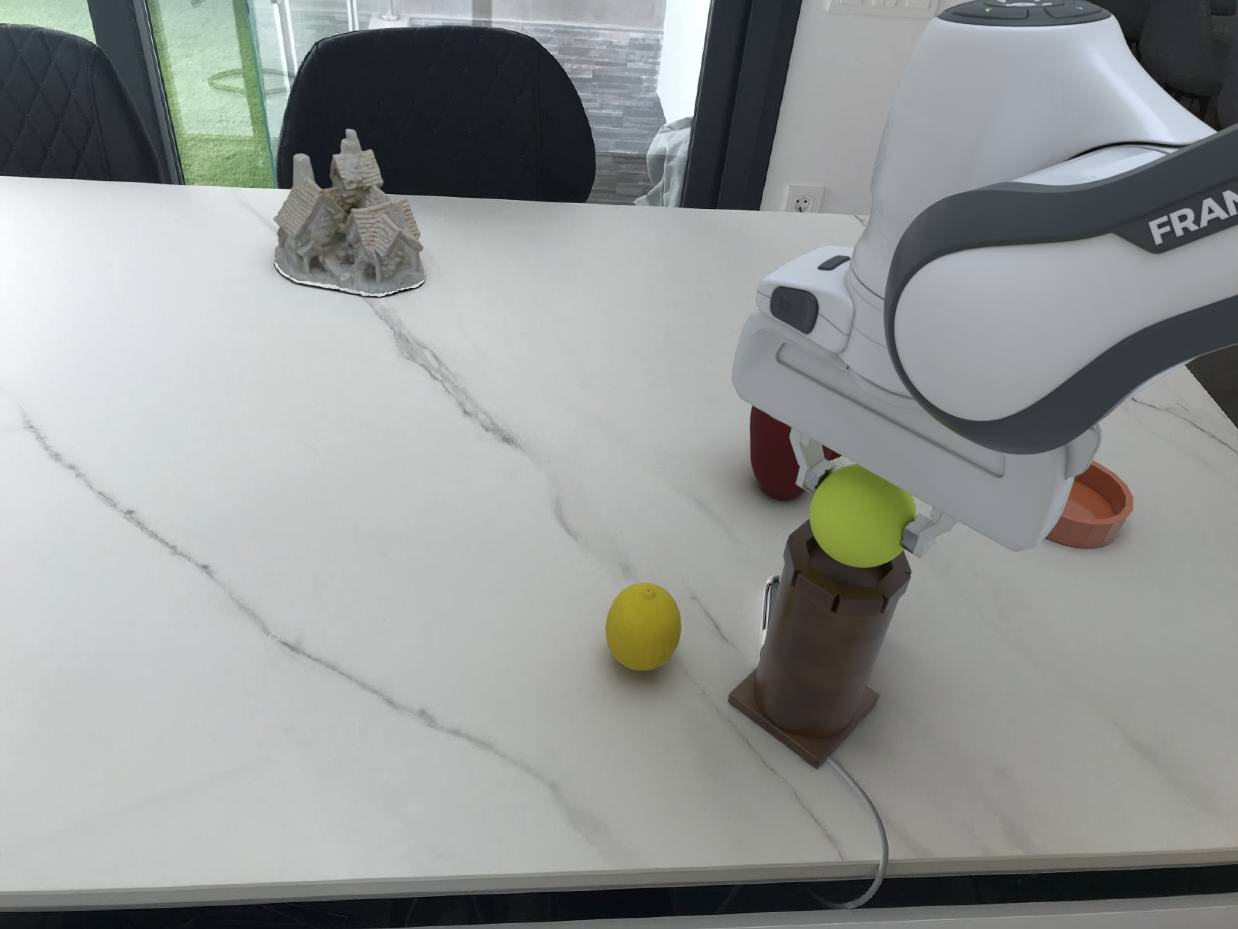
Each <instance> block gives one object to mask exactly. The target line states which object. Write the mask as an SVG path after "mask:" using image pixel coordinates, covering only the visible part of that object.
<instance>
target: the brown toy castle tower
mask: <svg viewBox="0 0 1238 929" xmlns="http://www.w3.org/2000/svg"><path fill="white" fill-rule="evenodd" d="M784 546H785V547H784V550H783V554H782V557H783V562H784V564H783V567H782V571H781V576H780V579H779V583H778V588H777V592H776V595H775V598H774V603H773V606H772V610H771V615H770V618H769V622H768V626H767V629H766V634H765V638H764V641H763V644H762V649H761V654H760V657H759V661H758V665H757V667H755V669H753V671H752V672H751V673H749V674H748V675H747V676H746V677H745V678H744V679H743V680H742V681H741V682H740V683H739V684H738V685H737V686H736V687H735V688H734V689H732V691H730V692H729V695H728V698H727V702H728V703H729V704H730V705H732V706H733V707H735V708H736V709H737V710H738V711H739V712H741V713H742V714H743V715H745V716H746V717H747V718H749V719H750V720H752V721H753V722H754V723H756V724H757V725H758V726H760V727H761V728H762V729H763V730H765V731H766V732H767V733H768V734H770V735H772V736H773V737H774V738H775V739H777V740H778V741H779V742H781V743H782V744H783V745H785V746H786V747H787V748H789V749H790V750H791V751H793V752H794V753H795V754H796V755H798V756H799V757H801V759H803V760H805V761H806V762H807V763H809V765H811V766H812V767H813V768H815V769H817V770H818V769H819V768H820V767H821V766H822V765H823V764H824V763H825V761H826V760H827V759H828V758H829V757H830V756H831V755H832V754H833V753H834V751H835V750H836V749H837V748H838V747H839V746H840V745H841V744H842V742H844V740H846V738H847V737H848V736H849V735H850V734H851V732H853V730H854V729H856V727H858V725H859V724H860V723H861V722H862V720H863V719H864V718H865V717H866V716H867V715H868V714H869V712H870V711H871V710H873V709H874V707H875V706H876V705H877V704H878V701H879V699H880V696H881V695H880V694H879V693H878V692H876V691H875V690H873V689H872V688H870V687H869V686H868V683H869V680H870V678H871V675H872V672H873V669H874V667H875V664H876V662H877V659H878V656H879V653H880V651H881V648H882V646H883V642H884V640H885V637H886V635H887V633H888V629H889V627H890V625H891V622H892V619H893V616H894V614H895V610H897V609H896V608H897V606H898V603H899V601H900V599H901V597H903V596H904V595H905V594H906V592H907V589H908V586H909V584H910V581H911V579H912V576H911V575H912V572H913V571H912V569H911V566H910V563H909V560H908V558H907V555H906V552H905V549H904V550H903V551H902V552H901V553H900V554H899V555H898V556H897V557H895V558H894V559H892V560H891V561H889V562H887V563H884V564H882V565H879V566H875V567H867V568H860V567H852V566H848V565H845V564H843V563H840V562H838V561H837V560H835V559H833V558H832V557H830V556H829V555H828V554H827V553H826V552H825V551H824V550H823V549H822V548H821V547H820V545H819V544H818V542H817V541H816V539H815V537H814V534H813V532H812V529H811V524H810V517H809V518H808V519H807V520H806V521H804V522H803V523H802V524H800V526H798V527H797V528H795V530H794V531H792V532H791V533H789V535H788V536H787V540H786V543H785V545H784ZM828 756H829V757H828ZM827 757H828V758H827Z"/></svg>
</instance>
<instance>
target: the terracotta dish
mask: <svg viewBox="0 0 1238 929" xmlns="http://www.w3.org/2000/svg"><path fill="white" fill-rule="evenodd" d="M1133 511H1134V496H1133V494H1132V492H1131V490H1130V488H1129V486H1128V485H1127V483H1126V482H1125V481H1124V480H1122V478H1121V477H1119V476H1118V475H1117V473H1115V472H1114V471H1112V470H1111V469H1109V468H1108V467H1106V466H1104V465H1102V464H1101V463H1099V462H1098V461H1095V460H1093V461H1092V463H1091V465H1090V466H1089V467H1088V469H1087V470H1086V471H1085V472H1083V473H1082V474H1080V475H1078V476H1075V478H1074V482H1073V485H1072V488H1071V491H1070V494H1069V497H1068V500H1067V502H1066V505H1065V507H1064V510H1063V512H1062V514H1061V516H1060V518H1059V520H1058V522H1057V523H1056V525H1055V526H1054V528H1053V529H1052V530H1051V531H1050V533H1049V534H1048V535H1047V536H1046V537H1045V539H1048V540H1050V541H1052V542H1055V543H1058V544H1060V545H1063V546H1068V547H1072V548H1079V549H1081V548H1082V549H1095V548H1101V547H1104V546H1107V545H1110V544H1111V543H1113V542H1114V541H1115V540H1116V539H1117V538H1118V537H1119V535H1120V534H1121V532H1122V530H1123V529H1124V527H1125V526H1126V523H1127V522H1128V521H1129V518H1130V517H1131V515H1132V513H1133Z"/></svg>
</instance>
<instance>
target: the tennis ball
mask: <svg viewBox="0 0 1238 929" xmlns="http://www.w3.org/2000/svg"><path fill="white" fill-rule="evenodd" d="M914 499H915V498H914V496H913V495H911V494H909V493H908V492H906V491H904V490H902V489H900V488H899V487H897V486H895V485H893V484H892V483H890V482H888V481H886V480H884V479H883V478H881V477H879V476H877V475H876V474H874V473H872V472H870V471H868V470H867V469H865V468H863V467H861V466H860V465H858V464H856V463H854V464H848V465H845V466H842V467H839V468H838V469H836V470H833V473H831V474H830V475H829V476H827V477H826V478H825V479H824V480H823V481H822V482H821V484H820V485H819V486H818V488H817V490H816V491H815V493H814V495H812V499H811V501H810V505H809V506H810V507H809V518H810V524H811V529H812V532H813V534H814V537H815V539H816V541H817V542H818V544H819V545H820V547H821V548H822V549H823V550H824V551H825V552H826V553H827V554H828V555H829V556H830V557H832V558H833V559H835V560H837V561H838V562H840V563H843V564H845V565H848V566H852V567H860V568H867V567H875V566H879V565H882V564H884V563H887V562H889V561H891V560H892V559H894V558H895V557H897V556H898V555H899V554H900V553H901V552H902V551H903V550H904V551H905V549H904V548H902V547H901V546H900V540H901V539H903V537H902V534H903V531H904V528H905V527H906V526H907V525H908V524H909V523H910V522H913V520H914V518H915V517H916V516H917V515H918V514H917V507H916V503H915V500H914Z"/></svg>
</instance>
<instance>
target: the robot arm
mask: <svg viewBox="0 0 1238 929" xmlns="http://www.w3.org/2000/svg"><path fill="white" fill-rule="evenodd" d="M870 194H871V196H870V197H871V206H870V207H871V208H870V213H869V218H868V222H867V223H866V226H865V228H864V229H863V231H862V233H861V235H860V236H859V238H858V240H857V242H856V244H855V245H854V247H853V246H844V245H835V244H834V245H833V244H828V245H822V246H819V247H817V248H814V249H811V250H809V251H806V252H805V253H802V254H800V255H798V256H796V257H793V258H792V259H789V261H786V262H784V263H783V264H781V265H780V266H778V267H776V268H775V269H773V270H772V271H770V272H769V273H768V274H767V275H766V276H764V277H763V278H762V279H761V280H759V282H758V284H757V288H756V293H755V302H756V307H757V309H756V310H754V311H752V313H750V314H749V315H748V317H747V319H746V320H745V322H744V325H743V327H742V330H741V332H740V336H739V339H738V342H737V346H736V350H735V354H734V357H733V363H732V367H731V368H732V370H731V382H732V385H733V387H734V389H735V391H736V394H737V396H738V397H739V398H740V399H741V400H742V401H744V402H746V404H749V405H751V406H752V405H753V406H755V407H756V408H758V409H760V410H762V411H764V412H765V413H767V414H769V415H771V416H772V417H774V418H776V419H778V420H780V421H781V422H783V423H785V424H787V425H788V426H790V427H792V428H791V433H790V437H789V438H790V441H791V444H792V447H793V450H794V453H795V456H796V459H797V462H798V465H800V468H799V472H798V477H797V481H796V485H798V486H799V487H801V488H803V489H804V490H805V492H808V494H809V493H810V494H811V495H812V496H814V493H815V491H816V490H817V488H818V486H819V485H820V484H821V482H822V481H823V480H824V479H825V478H826V477H827V476H829V475H830V474H831V473H833V472H834V471H835V470H834V469H835V467H836V465H835V464H834V463H832V461H828V460H826V459H824V453H823V448H822V445H824V446H826V447H828V448H829V449H831V450H833V451H835V452H836V453H838V454H840V455H842V456H841V457H844V458H845V459H847V460H849V461H851V462H852V463H854V464H858V465H860V466H861V467H863V468H865V469H867V470H868V471H870V472H872V473H874V474H876V475H877V476H879V477H881V478H883V479H884V480H886V481H888V482H890V483H892V484H893V485H895V486H897V487H899V488H900V489H902V490H904V491H906V492H908V493H909V494H911V495H912V497H915V498H917V499H919V500H920V501H922V502H924V503H926V504H927V505H929V506H931V507H932V508H931V511H930V513H929V517H927V516H926V515H924V514H922V513H918V514H916V515H917V516H916V517H915V518H914V520H913V522H910V523H909V524H908V525H907V526H906V527H905V528H904V531H903V534H902V537H903V539H901V540H900V546H901V547H902V548H904V551H907V552H908V553H910V554H911V555H913V556H915V557H917V558H919V559H922V558H923V557H924V556H925V555H926V554H927V553H928V552H929V551H930V550H931V549H932V547H933V546H934V544H935V543H936V540H937V538H938V537H939V536H941V535H943V534H945V533H947V532H949V531H951V530H952V529H953V528H954V527H955V526H956V525H957V524H958V523H961V524H963V525H964V526H966V527H968V528H970V529H972V530H973V531H974V532H976V533H979V534H980V535H982V536H984V537H986V538H988V539H989V540H991V541H993V542H995V543H996V544H999V545H1000V546H1002V547H1004V548H1005V549H1007V550H1008V551H1011V552H1015V553H1018V552H1022V551H1023V552H1024V551H1026V550H1029V549H1030V550H1031V549H1033V548H1036V547H1037V546H1038V545H1040V544H1041V543H1042V542H1043V541H1044V540H1045V539H1046V536H1047V535H1048V534H1049V533H1050V531H1051V530H1052V529H1053V528H1054V526H1055V525H1056V523H1057V522H1058V520H1059V518H1060V516H1061V514H1062V512H1063V510H1064V507H1065V505H1066V502H1067V500H1068V497H1069V494H1070V491H1071V488H1072V485H1073V482H1074V478H1075V476H1078V475H1080V474H1082V473H1083V472H1085V471H1086V470H1087V469H1088V467H1089V466H1090V465H1091V463H1092V461H1094V458H1095V457H1096V455H1097V453H1098V451H1099V448H1100V447H1101V443H1102V438H1103V430H1102V428H1101V426H1100V423H1099V422H1101V421H1102V420H1104V419H1105V418H1107V417H1109V415H1110V414H1112V413H1113V412H1114V411H1115V410H1116V409H1117V408H1118V407H1119V406H1120V405H1122V404H1123V403H1125V402H1127V401H1129V400H1130V399H1132V398H1133V397H1135V396H1136V395H1138V394H1140V393H1141V392H1143V391H1145V390H1146V389H1148V388H1149V387H1151V386H1153V385H1154V384H1156V383H1157V382H1159V381H1161V380H1162V379H1164V378H1166V377H1167V376H1169V375H1170V374H1172V373H1173V372H1176V371H1177V370H1178V369H1180V368H1182V367H1183V366H1185V365H1187V364H1189V363H1190V362H1192V361H1194V360H1196V359H1197V358H1199V357H1202V356H1205V355H1208V354H1211V353H1214V352H1217V351H1220V350H1223V349H1226V348H1229V347H1232V346H1236V345H1238V122H1237V123H1235V124H1232V125H1230V126H1227V127H1226V128H1224V129H1221V130H1219V131H1217V130H1215V129H1214V128H1213V127H1211V126H1209V124H1207V123H1206V122H1204V121H1203V120H1201V119H1200V118H1199V117H1197V116H1196V115H1195V114H1193V113H1192V112H1190V111H1189V110H1187V108H1185V107H1184V106H1183V105H1181V104H1180V103H1179V102H1178V101H1177V100H1176V99H1174V98H1173V97H1172V96H1171V95H1170V94H1169V93H1168V92H1167V91H1166V90H1164V88H1163V87H1162V86H1160V85H1159V84H1158V83H1157V81H1156V80H1155V79H1154V78H1153V77H1151V75H1150V74H1149V73H1148V72H1147V71H1146V70H1145V69H1144V67H1143V66H1142V65H1141V63H1140V62H1139V61H1138V60H1137V59H1136V57H1135V56H1134V55H1133V52H1132V51H1131V49H1130V47H1129V45H1128V44H1127V40H1126V39H1125V36H1124V33H1123V30H1122V28H1121V25H1120V22H1119V21H1118V20H1117V18H1116V16H1115V15H1113V13H1111V12H1110V11H1109V10H1108V9H1105V8H1103V7H1101V6H1099V5H1097V4H1095V3H1092V2H1091V1H1089V0H969V1H965V2H962V3H958V4H956V5H954V6H951V7H948V8H945V10H943V11H942V12H941V13H939V14H937V15H936V16H934V17H933V18H932V19H931V20H930V21H929V22H928V23H927V25H926V26H925V27H924V29H923V30H922V31H921V34H920V35H919V37H918V39H917V41H916V43H915V44H914V46H913V47H912V50H911V51H910V54H909V57H908V59H907V60H906V63H905V66H904V68H903V71H902V73H901V75H900V78H899V81H898V83H897V86H896V89H895V93H894V95H893V99H892V101H891V104H890V107H889V111H888V114H887V116H886V120H885V124H884V127H883V131H882V134H881V137H880V142H879V145H878V150H877V153H876V157H875V161H874V165H873V168H872V174H871V179H870Z"/></svg>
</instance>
